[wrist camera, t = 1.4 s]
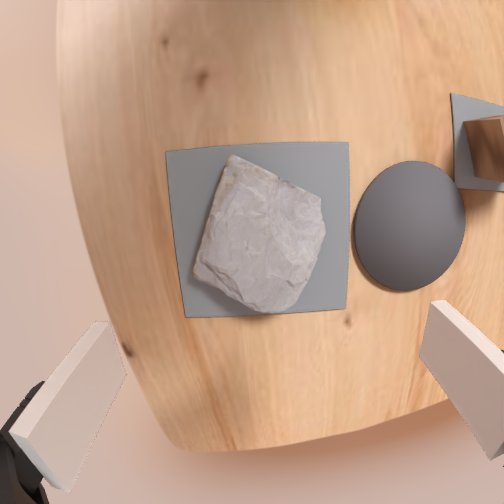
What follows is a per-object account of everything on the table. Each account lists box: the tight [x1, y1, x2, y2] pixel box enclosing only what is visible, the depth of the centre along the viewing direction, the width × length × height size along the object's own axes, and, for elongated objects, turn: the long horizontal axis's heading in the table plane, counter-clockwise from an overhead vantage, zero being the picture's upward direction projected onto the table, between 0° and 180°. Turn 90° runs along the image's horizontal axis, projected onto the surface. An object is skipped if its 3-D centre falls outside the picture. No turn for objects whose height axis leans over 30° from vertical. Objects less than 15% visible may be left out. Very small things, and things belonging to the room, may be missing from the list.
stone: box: [193, 155, 326, 313], centre depth 26 cm, size 10×12×4 cm
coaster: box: [354, 161, 465, 290], centre depth 28 cm, size 13×13×1 cm
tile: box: [450, 93, 504, 191], centre depth 25 cm, size 10×10×1 cm
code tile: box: [166, 142, 350, 317], centre depth 28 cm, size 16×16×1 cm
